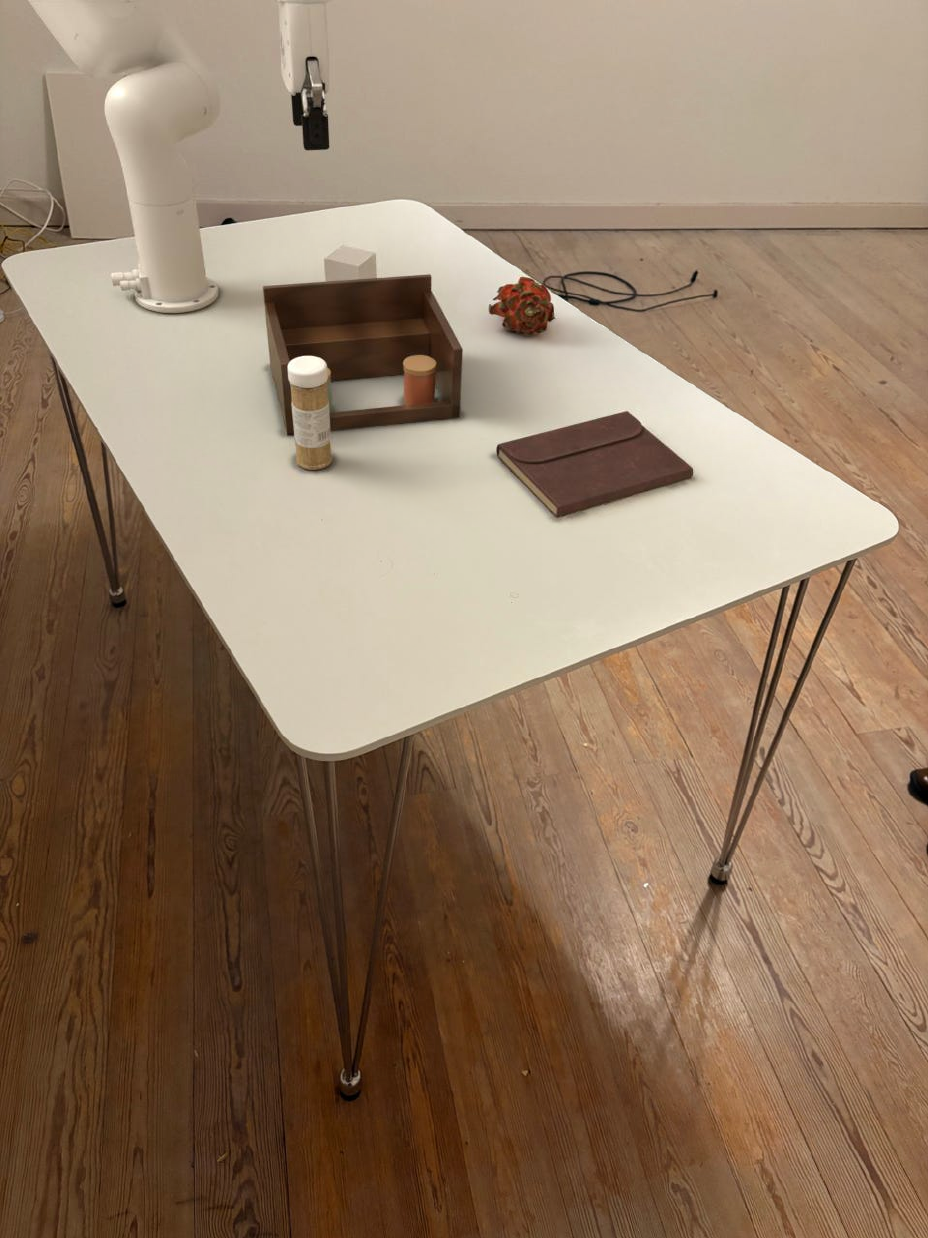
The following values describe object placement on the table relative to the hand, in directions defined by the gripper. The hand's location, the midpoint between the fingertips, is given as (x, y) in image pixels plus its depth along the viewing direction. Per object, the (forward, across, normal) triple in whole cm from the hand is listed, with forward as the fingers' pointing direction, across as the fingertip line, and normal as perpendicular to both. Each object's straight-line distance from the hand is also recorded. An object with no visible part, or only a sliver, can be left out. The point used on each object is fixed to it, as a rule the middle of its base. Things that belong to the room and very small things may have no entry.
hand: (310, 136), depth 131 cm
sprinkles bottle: (+28, +32, -6) cm, 43 cm away
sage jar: (+28, +20, -4) cm, 35 cm away
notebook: (+28, +40, +28) cm, 57 cm away
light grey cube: (+28, -15, +7) cm, 33 cm away
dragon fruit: (+28, +2, +30) cm, 41 cm away
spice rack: (+28, +16, +3) cm, 33 cm away
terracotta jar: (+28, +20, +10) cm, 36 cm away
